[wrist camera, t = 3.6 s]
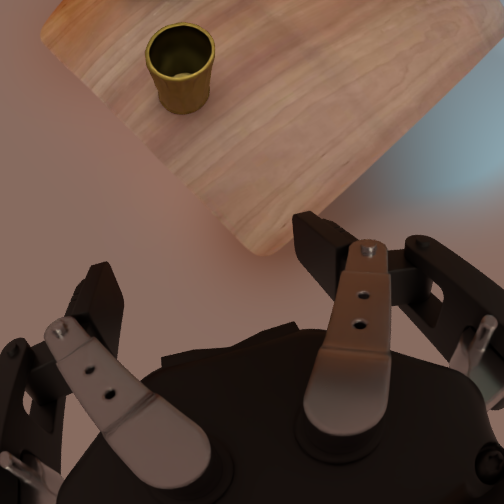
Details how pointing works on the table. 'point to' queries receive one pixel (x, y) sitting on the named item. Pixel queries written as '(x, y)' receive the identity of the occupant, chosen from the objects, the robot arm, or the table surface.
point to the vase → (181, 66)
